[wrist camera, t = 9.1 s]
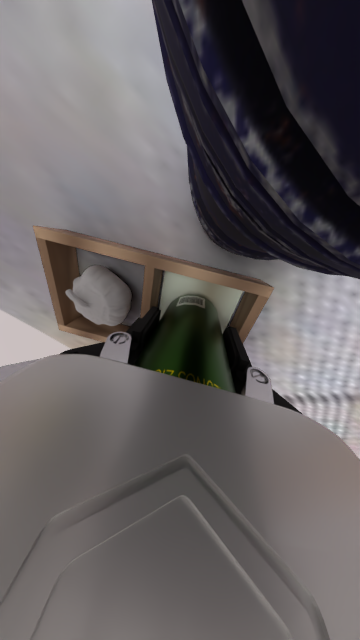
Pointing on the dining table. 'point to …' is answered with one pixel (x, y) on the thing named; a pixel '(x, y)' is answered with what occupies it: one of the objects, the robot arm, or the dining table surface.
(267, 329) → the dining table surface
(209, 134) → the storage jar
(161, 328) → the beer can
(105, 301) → the garlic
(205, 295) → the slot rack
